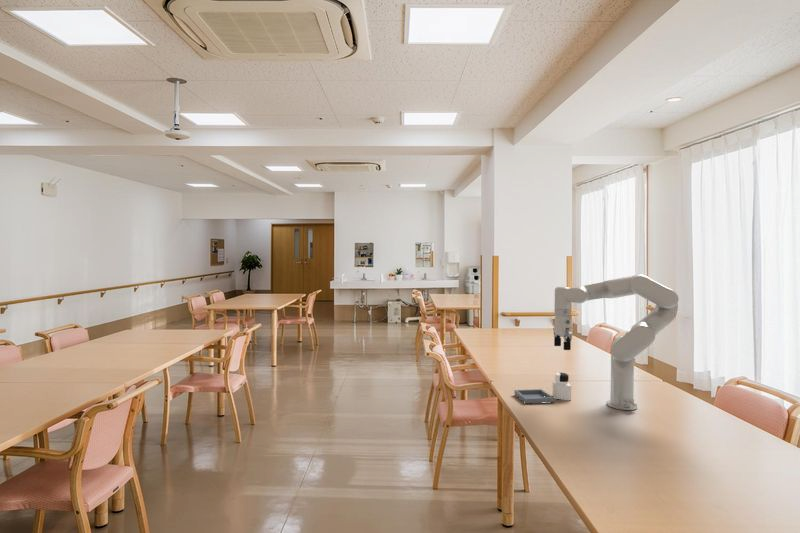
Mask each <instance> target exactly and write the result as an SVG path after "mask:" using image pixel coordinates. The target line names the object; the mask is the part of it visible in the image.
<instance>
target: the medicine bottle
mask: <svg viewBox="0 0 800 533" xmlns="http://www.w3.org/2000/svg"><path fill="white" fill-rule="evenodd" d="M569 376H570V375H569V374H568V373H566V372H557V373H555V376H554V379H555V380H552V390H551V391H552V395H551V396H552V397H553V396H554V397H555V398H554V400H556V399H565V400H564V401H569V400H571V401H572V385H571V384H570V383H569V379H570V378H569Z"/></svg>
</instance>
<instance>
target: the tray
mask: <svg viewBox="0 0 800 533" xmlns="http://www.w3.org/2000/svg"><path fill="white" fill-rule="evenodd" d="M513 392H514V393H513V394H515V395H516V396H517V397H519V398H520V399H521V400H522V401H523V402H522V401H521V400H520V399H519V398H518V399H519V400H520V401H521V402H522V403H524V402H525V403H542V402H554V403H555V398H554V397H553V395H551V394H549V393H548V392H546V391H545V390H544V389H542V388H539V389H536V388H535V389H514V390H513ZM515 395H514V396H515ZM516 396H515V397H516ZM544 396H545V397H544ZM517 397H516V398H517ZM525 403H524V404H525Z"/></svg>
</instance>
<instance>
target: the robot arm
mask: <svg viewBox="0 0 800 533" xmlns="http://www.w3.org/2000/svg"><path fill="white" fill-rule="evenodd" d="M635 295H637V296H640V297H641V298H643V299H645V300H647V301H649V302H650V303H652V304H655V307H654V308H653V310H651V311H650V312H649V313H647V315H645V316H644V317H643V318H642V319H640V320H639V321H638V322H635V323H634V324H633V325H632V326H631V328H630V330H629V331H628V332H626V333H625V334H624V335H623V336H618V337H616V338H614V339H613V340H612V341H611V343H610V344H611V345H610V396H609V397H610V399H608V400H606V406H608V407H610V408H612V409H615V410H616V409H617V410H623V411H633V410H637V409H638V404H637V403H635V398H634V396H635V394H634V391H635V390H634V389H635V388H634V387H635V386H634V385H635V384H634V382H635V381H634V380H635V358H636V357H637V356H638V355H640V354H641V353H643V352H644V351H645V350H647V348H649V347H650V346H651V345H652V344H653V343H654V342H655V340H656V335H658V334H659V333H660V332H662V330H664V329H665V328H666V327H668V326H669V325H670V324H671V323H672V322H673V321H674V319H675V317H676V316H677V313H678V309H679V300H680V299H679V295H678V294H677V292H676V291H675V290H673V289H672V288H669V287H667V286H665V285H663V284H661V283H659V282H657V281H655V280H653V279H651V278H650V277H649V276H647V275H645V274H635V275H630V276H625V277H623V276H622V277H619V278H614V279H608V280H605V281H602V282H596V283H591V284H585V285H581V286H576V287H569V286H568V287H567V286H557V287H555V289H554V310H553V312H554V313H553V314H554V322H553V327H552V328H553V337H554V338H553V340H554V341H553V342H554V344H553V345H554V347H561V346H562V338H563V351H571V349H572V348H571V345H572V344H571V343H572V339H573V338H572V337H573V321H572V303H575V304H583V303H585V302H588V301H592V300H599V299H617V298H623V297H628V296H629V297H630V296H635Z"/></svg>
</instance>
